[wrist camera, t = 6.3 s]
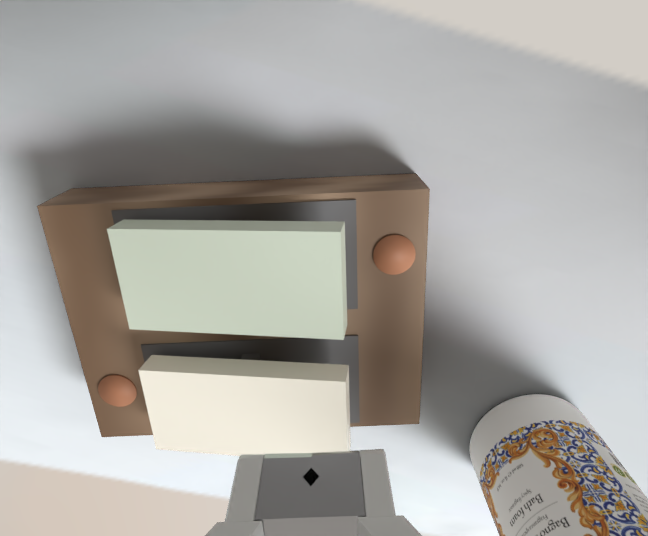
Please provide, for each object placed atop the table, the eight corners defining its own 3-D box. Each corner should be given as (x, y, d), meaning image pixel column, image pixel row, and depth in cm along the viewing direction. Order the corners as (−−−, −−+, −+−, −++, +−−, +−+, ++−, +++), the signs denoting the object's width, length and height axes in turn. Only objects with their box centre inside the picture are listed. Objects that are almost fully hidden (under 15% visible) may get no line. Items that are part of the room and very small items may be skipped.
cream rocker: (348, 364, 21) (345, 381, 20) (350, 445, 22) (347, 465, 21) (151, 354, 22) (138, 370, 21) (167, 431, 24) (156, 449, 23)
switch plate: (415, 173, 22) (435, 195, 19) (408, 386, 27) (423, 438, 23) (71, 188, 23) (23, 213, 19) (123, 399, 27) (93, 451, 24)
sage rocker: (344, 221, 18) (340, 232, 17) (347, 324, 20) (343, 340, 19) (123, 219, 20) (106, 228, 19) (144, 315, 21) (129, 329, 20)
